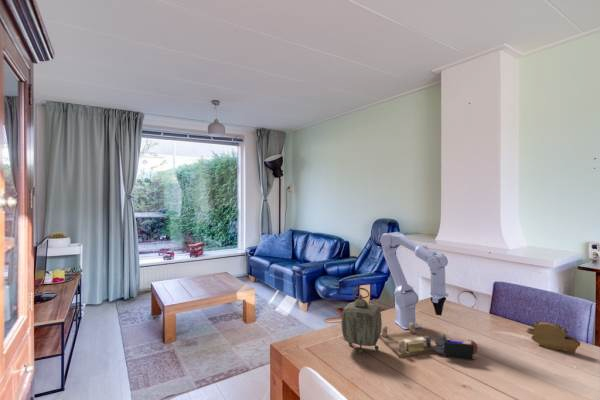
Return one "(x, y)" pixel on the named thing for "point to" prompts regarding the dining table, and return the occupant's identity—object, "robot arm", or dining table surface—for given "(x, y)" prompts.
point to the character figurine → (455, 348)
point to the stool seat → (398, 344)
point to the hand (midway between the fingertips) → (438, 314)
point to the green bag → (361, 322)
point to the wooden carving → (553, 337)
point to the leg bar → (424, 339)
